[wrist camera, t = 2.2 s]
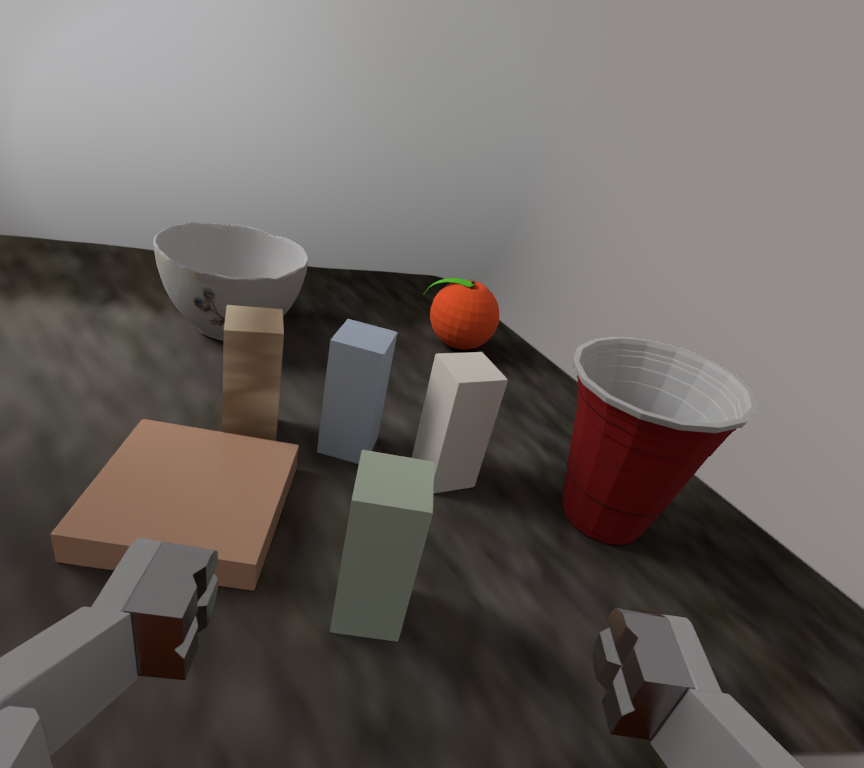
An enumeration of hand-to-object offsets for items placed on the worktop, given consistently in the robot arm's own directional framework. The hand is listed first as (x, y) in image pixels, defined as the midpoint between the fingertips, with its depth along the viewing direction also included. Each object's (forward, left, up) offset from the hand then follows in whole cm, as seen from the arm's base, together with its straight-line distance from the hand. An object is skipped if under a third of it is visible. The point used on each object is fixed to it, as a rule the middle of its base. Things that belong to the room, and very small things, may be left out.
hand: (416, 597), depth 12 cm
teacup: (-16, +41, -17) cm, 47 cm away
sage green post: (0, +12, -16) cm, 20 cm away
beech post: (-10, +25, -16) cm, 32 cm away
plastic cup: (+15, +23, -17) cm, 32 cm away
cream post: (+4, +24, -16) cm, 29 cm away
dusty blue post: (-3, +26, -16) cm, 31 cm away
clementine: (+5, +45, -17) cm, 48 cm away
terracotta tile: (-11, +17, -16) cm, 26 cm away
